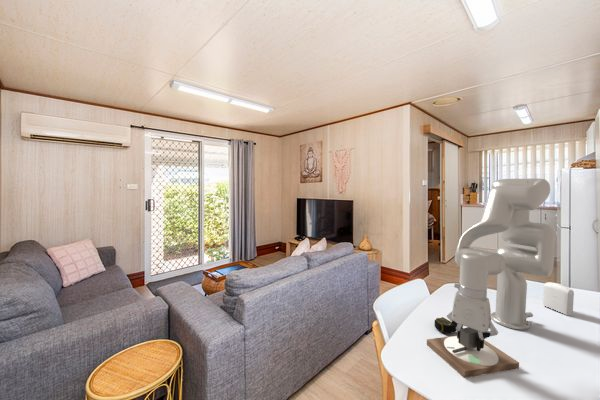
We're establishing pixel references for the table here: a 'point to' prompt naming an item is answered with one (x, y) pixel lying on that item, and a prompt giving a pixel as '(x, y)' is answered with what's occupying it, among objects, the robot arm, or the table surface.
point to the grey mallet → (467, 339)
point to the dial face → (472, 353)
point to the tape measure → (444, 325)
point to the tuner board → (469, 368)
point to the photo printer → (558, 298)
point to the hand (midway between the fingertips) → (469, 344)
